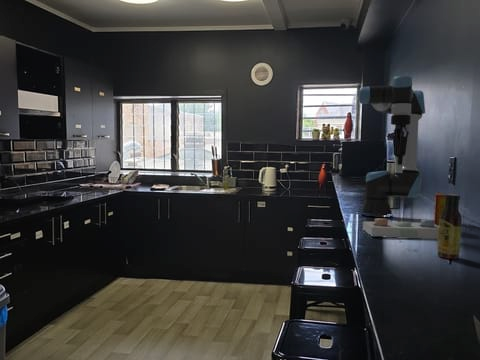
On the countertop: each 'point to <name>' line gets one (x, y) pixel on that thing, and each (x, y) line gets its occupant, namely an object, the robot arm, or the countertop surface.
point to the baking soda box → (439, 206)
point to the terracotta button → (381, 222)
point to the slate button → (427, 223)
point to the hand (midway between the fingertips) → (398, 172)
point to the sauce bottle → (450, 228)
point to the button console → (401, 230)
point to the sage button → (404, 224)
